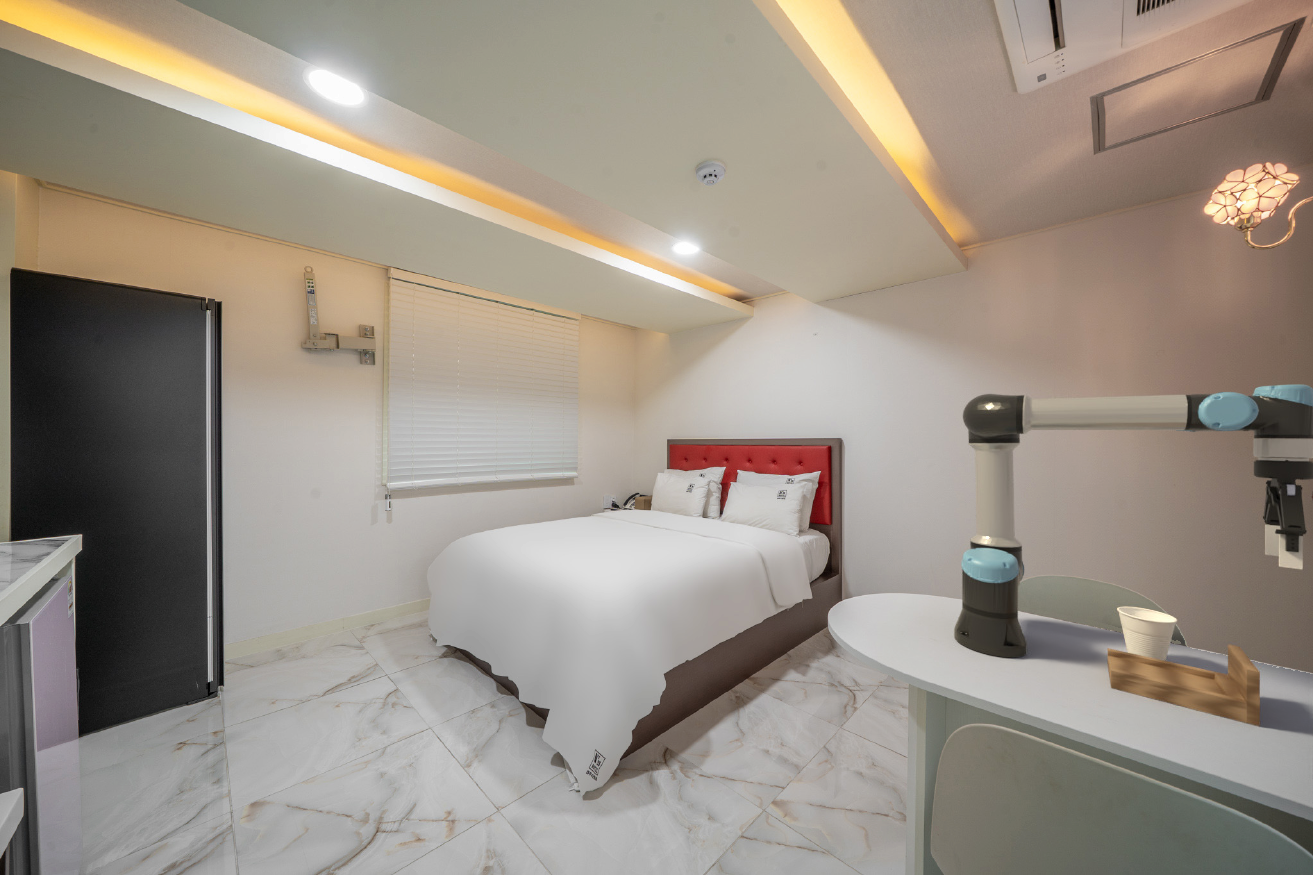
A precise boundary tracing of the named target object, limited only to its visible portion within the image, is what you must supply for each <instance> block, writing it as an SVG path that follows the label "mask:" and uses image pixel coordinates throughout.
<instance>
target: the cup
mask: <svg viewBox="0 0 1313 875" xmlns="http://www.w3.org/2000/svg"><path fill="white" fill-rule="evenodd" d="M1116 610H1117V612H1118V615H1119V619H1120V625H1121V628H1122V632H1123V637H1124V642H1125V647H1126V652H1127V653H1132V654H1137V655H1141V656H1146V657H1150V658H1155V659H1159V660H1164V661H1167V657H1168V653H1169V651H1170V649H1169V648H1170V646H1171V642H1172V638H1173V634H1174V631H1175V626H1176V623H1178V621H1179V620H1178V619H1177V618H1176V617H1175V616H1172V615H1170V614H1168V613H1165V612H1162V611H1157V610H1153V609H1148V608H1143V607H1138V606H1137V607H1136V606H1119V607H1117V609H1116Z"/></svg>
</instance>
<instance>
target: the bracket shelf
mask: <svg viewBox="0 0 1313 875" xmlns="http://www.w3.org/2000/svg"><path fill="white" fill-rule="evenodd" d="M1106 650H1107V652H1106V653H1107V655H1106V656H1107V658H1106V659H1107V660H1106V661H1107V668H1108V669H1107V670H1108V675H1109V681H1110V689H1114V690H1119V691H1122V692H1125V693H1129V694H1133V695H1137V696H1141V697H1145V698H1148V699H1153V700H1157V701H1159V702H1160V701H1161V702H1164V703H1168V704H1172V705H1176V706H1180V707H1183V708H1186V709H1187V708H1188V709H1190V710H1191V709H1192V710H1195V711H1199V712H1203V713H1207V714H1210V715H1214V716H1218V717H1222V718H1226V719H1230V720H1234V721H1237V722H1241V723H1245V724H1249V725H1253V726H1255V727H1260V726H1261V720H1260V719H1261V716H1260V714H1261V711H1260V710H1261V709H1260V707H1261V706H1260V705H1261V702H1260V700H1261V685H1260V684H1261V672H1260V671H1259V669H1258V668H1257V667H1256V665H1255V664H1254V663H1253V662H1252V661H1251V659H1250V658H1249V657H1248V655H1247V654H1246V652H1244V650H1243V649H1242V648H1241V646H1237V645H1234V644H1227V673H1223V672H1218V671H1213V670H1210V669H1203V668H1200V667H1196V666H1191V665H1185V664H1182V663H1178V662H1177V663H1176V662H1173V661H1172V662H1171V661H1169V660H1166V661H1164V660H1159V659H1155V658H1150V657H1146V656H1141V655H1137V654H1132V653H1127V651H1123V650H1118V649H1113V648H1109V647H1107V649H1106Z"/></svg>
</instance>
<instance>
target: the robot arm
mask: <svg viewBox="0 0 1313 875" xmlns="http://www.w3.org/2000/svg"><path fill="white" fill-rule="evenodd" d="M962 420H963V423H964V427H965V428H966V429H967V431H968V432H967V433H968V435H967V436H968V445H969V446H970V447H971V448H972V449H973V450H974V454H975V455H974V456H975V457H974V461H975V462H974V464H975V468H974V469H975V506H976V507H975V511H976V513H975V514H976V515H975V518H976V519H975V520H976V534H975V535H974V536H972V537H971V538H970V542H969V543H970V549H967V550H966V551H964V553H963V554H962V559H961V568H962V569H961V571H962V573H961V576H962V578H961V579H962V580H961V584H962V586H961V587H962V588H961V589H962V590H961V591H962V592H961V595H962V596H961V597H962V598H961V599H962V601H961V602H962V603H961V604H962V605H961V606H962V607H961V610H960V614H959V616H958V619H957V621H956V623H955V626H954V631H953V632H954V633H953V635H954V639H955V641H956V640H957V641H956V642H958V643H959V644H960V645H962V646H963V647H966V648H968V649H970V650H972V651H975V652H978V653H981V654H986V655H989V656H996V657H1002V658H1020V657H1021V658H1022V657H1024V656H1026V655H1027V653H1028V643H1027V640H1026V637H1025V635H1024V632H1023V628H1022V627H1021V624H1020V622H1019V586H1020V583H1021V581H1022V580H1023V577H1024V576H1025V575H1024V574H1025V564H1024V562H1023V544H1022V542H1020V541H1019V540H1018V539H1017V538H1016V537H1015V498H1014V497H1015V492H1014V491H1015V487H1014V485H1015V484H1014V480H1015V479H1014V449H1016V448H1017V447H1018V446H1019V445H1020V444H1021V438H1020V437H1021V436H1020V435H1025V434H1028V433H1029V432H1030V431H1176V432H1189V433H1190V432H1192V433H1196V432H1235V431H1236V432H1249V431H1250V432H1253V450H1252V451H1253V457H1254V458H1257V459H1255V460H1254V461H1253V476H1254V477H1256V478H1261V479H1267V480H1266V482H1265V485H1266V486H1265V502H1264V511H1263V516H1262V519H1263V521H1264V523H1265V525H1264V541H1265V542H1264V554H1265V555H1266V556H1274V557H1278V567H1280V568H1287V569H1288V568H1289V569H1296V570H1303V568H1304V567H1303V566H1304V563H1303V562H1304V557H1303V556H1304V551H1303V550H1304V535H1306V534H1307V531H1308V530H1307V529H1306V522H1305V514H1304V505H1303V497H1302V496H1303V494H1302V491H1303V486H1302V485H1301V484H1297V483H1296V482H1297V481H1296V480H1301V481H1303V480H1304V481H1306V480H1308V481H1310V480H1313V461H1310V459H1313V387H1311V386H1310V385H1307V384H1278V385H1277V384H1276V385H1263V386H1258V387H1256V388H1255V389H1254V392H1253V393H1252V395H1246V394H1243V393H1240V392H1235V391H1223V392H1222V391H1221V392H1216V393H1201V394H1199V393H1197V394H1195V393H1194V394H1193V393H1192V394H1161V395H1160V394H1159V395H1158V394H1157V395H1132V396H1131V395H1129V396H1128V395H1126V396H1123V395H1122V396H1097V397H1095V396H1093V397H1061V398H1060V397H1058V398H1056V397H1055V398H1031V397H1029V396H1028V395H1027V394H1025V395H1023V394H1022V395H1021V394H1020V395H1016V394H1015V395H1010V394H996V393H987V394H986V393H985V394H981V395H977V396H976V397H974V398H972V399H971V400H969V401H968V403H967V404H966V405H965V406H964V409H963V413H962ZM1269 479H1270V480H1269Z"/></svg>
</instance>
